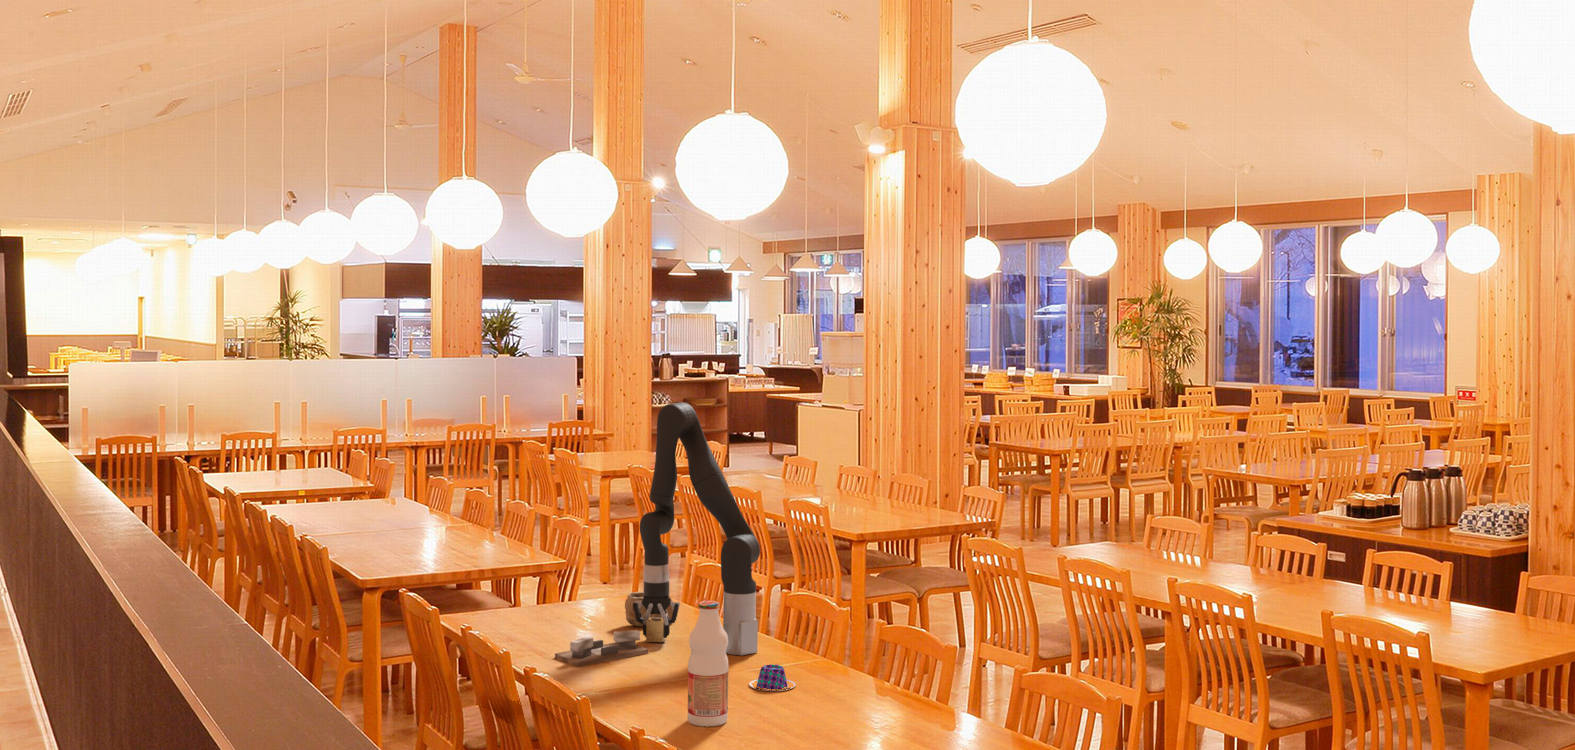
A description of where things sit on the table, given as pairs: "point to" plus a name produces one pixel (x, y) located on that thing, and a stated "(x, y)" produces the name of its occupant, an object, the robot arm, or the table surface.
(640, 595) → the pipe
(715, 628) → the fruit juice
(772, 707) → the table surface
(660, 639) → the tan knob block
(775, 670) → the pudding
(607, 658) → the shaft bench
